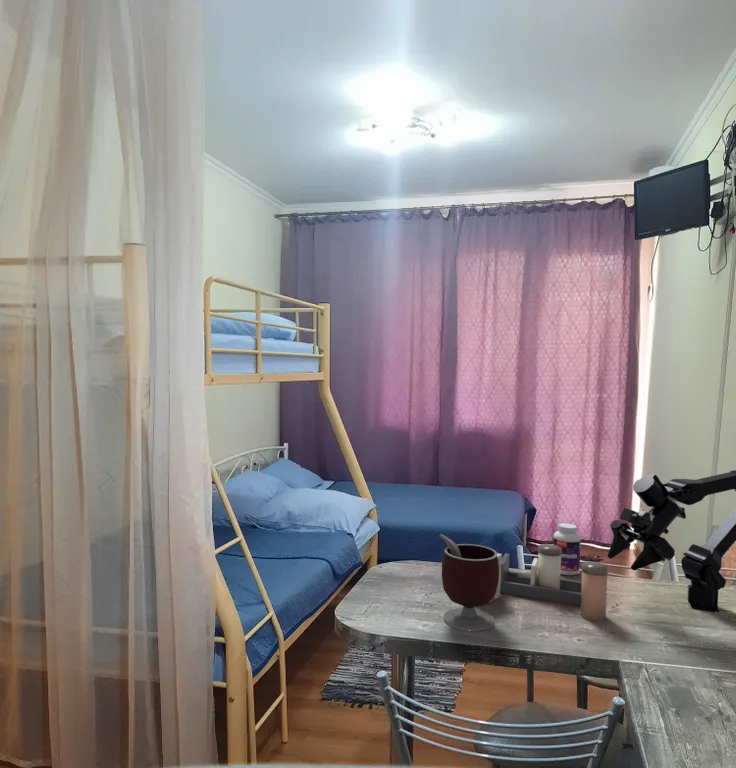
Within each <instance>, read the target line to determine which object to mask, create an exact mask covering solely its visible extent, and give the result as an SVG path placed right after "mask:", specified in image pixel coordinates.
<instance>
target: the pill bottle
mask: <svg viewBox="0 0 736 768" xmlns="http://www.w3.org/2000/svg"><path fill="white" fill-rule="evenodd" d="M557 529H558V530H557V531H555V532H554V533H553V538H552V539H553V540H552V544H553V545H557V546H560V547H561V548H562V554H561V574H560V575H563V576H575V575H577V574H579V573H580V571H581V570H580V566H581V547H582V546H581V545H582V544H581V543H582V537H581V535H580V534H579V533H578V526H577V525H575V524H572V523H566V522H565V523H561V522H560V523H558V525H557Z"/></svg>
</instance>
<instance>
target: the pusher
mask: <svg viewBox="0 0 736 768" xmlns="http://www.w3.org/2000/svg"><path fill="white" fill-rule="evenodd" d="M516 572H517V577H521V578H528V579H531V583H530V585H533V586H537V575H538V558H537V557H534V558H533V560H532V563H531V565H530V571H525V570H517V571H516Z"/></svg>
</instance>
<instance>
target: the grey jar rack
mask: <svg viewBox="0 0 736 768" xmlns="http://www.w3.org/2000/svg"><path fill="white" fill-rule="evenodd" d="M517 572H518V571H513V570H510V553H504V555H502V559H501V585H500V594H507V595H513V596H517V597H523V598H524V597H525V598H532V599H537V600H543V601H550V602H556V603H561V604H567V605H568V604H569V605H575V606H580V607H581V586H582V580H580V581H579V580H573V579H566V578H561V577H560V590H559V589H553V588H546V587H540V586H533V585H530V583H531V579H528V578H521V577H517ZM537 585H538V575H537Z"/></svg>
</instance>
